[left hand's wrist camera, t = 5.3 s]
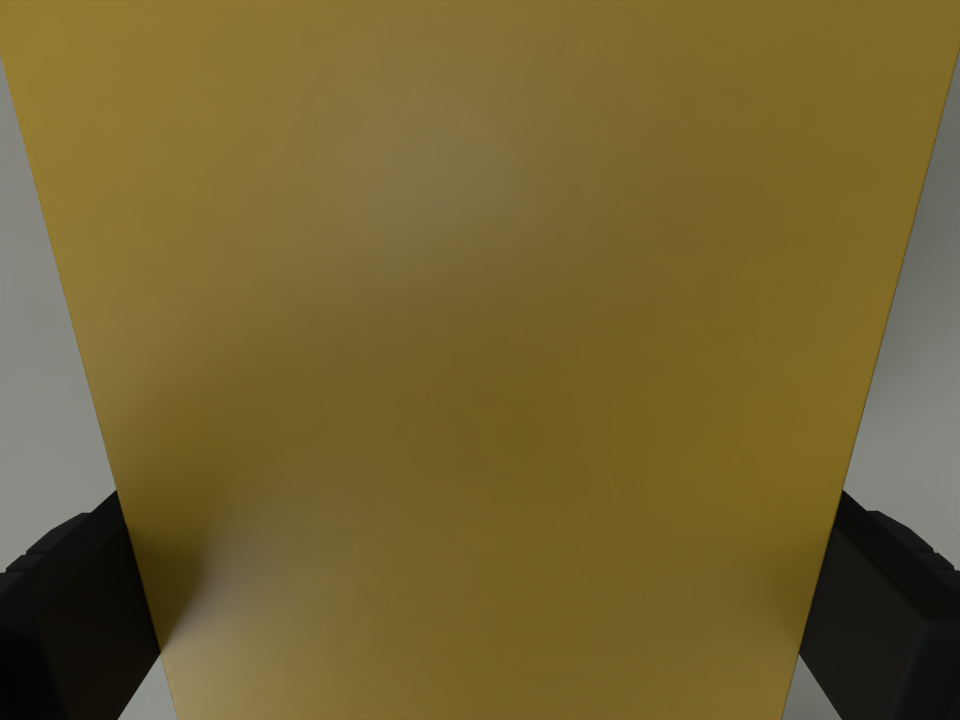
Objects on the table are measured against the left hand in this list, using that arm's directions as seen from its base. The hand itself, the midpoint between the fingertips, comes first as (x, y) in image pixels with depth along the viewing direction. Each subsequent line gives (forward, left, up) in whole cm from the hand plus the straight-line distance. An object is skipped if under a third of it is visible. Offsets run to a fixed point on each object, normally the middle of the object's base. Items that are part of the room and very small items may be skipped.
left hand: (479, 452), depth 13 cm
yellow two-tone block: (+5, 0, -4) cm, 6 cm away
